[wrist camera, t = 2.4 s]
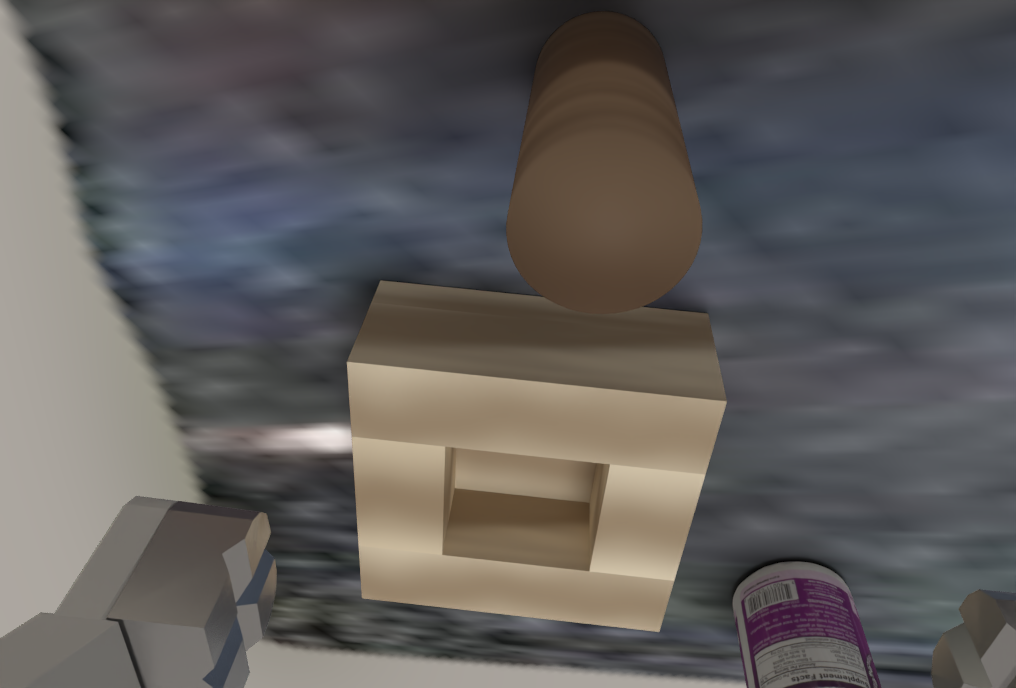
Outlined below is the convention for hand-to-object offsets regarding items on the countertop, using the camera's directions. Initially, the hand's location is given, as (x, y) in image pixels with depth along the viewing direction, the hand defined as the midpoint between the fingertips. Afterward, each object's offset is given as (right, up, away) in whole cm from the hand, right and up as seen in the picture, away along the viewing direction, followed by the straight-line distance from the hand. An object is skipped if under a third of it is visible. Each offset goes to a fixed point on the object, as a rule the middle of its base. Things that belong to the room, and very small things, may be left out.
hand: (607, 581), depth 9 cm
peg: (+2, +11, +15) cm, 19 cm away
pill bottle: (+12, -9, +28) cm, 32 cm away
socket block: (0, 0, +23) cm, 23 cm away
